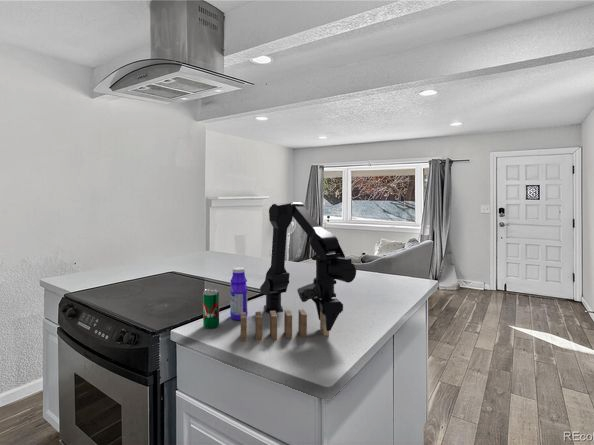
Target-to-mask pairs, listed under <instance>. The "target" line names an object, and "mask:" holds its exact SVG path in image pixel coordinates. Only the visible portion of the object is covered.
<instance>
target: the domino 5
mask: <svg viewBox="0 0 594 445" xmlns="http://www.w3.org/2000/svg"><path fill="white" fill-rule="evenodd" d="M297 320H298V321H297V322H298V325H297V326H298V329H297V330H298V332H299V335H300V337H301V338H307V337H308V331H307V330H308V314H307V312H306V311H305V309H303V308H302V309H300V308H299V309H298V319H297Z"/></svg>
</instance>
